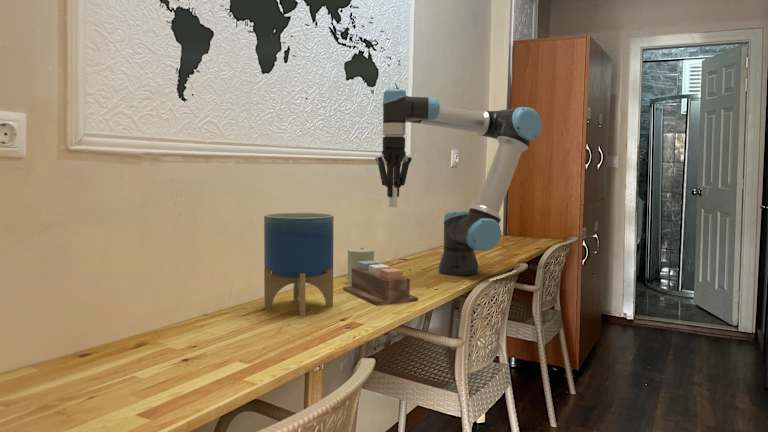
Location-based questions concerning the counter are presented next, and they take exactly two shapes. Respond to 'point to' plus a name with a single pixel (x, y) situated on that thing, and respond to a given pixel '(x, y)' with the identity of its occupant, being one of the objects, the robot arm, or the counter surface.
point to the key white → (377, 268)
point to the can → (358, 259)
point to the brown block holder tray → (379, 288)
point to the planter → (298, 255)
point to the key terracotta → (391, 274)
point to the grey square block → (366, 265)
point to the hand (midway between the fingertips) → (393, 206)
